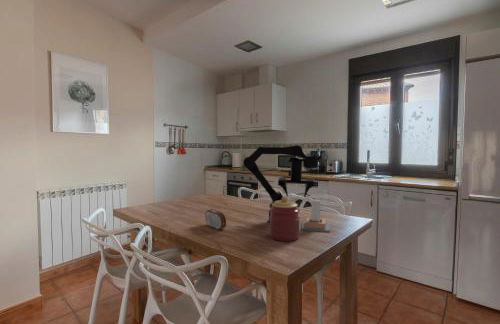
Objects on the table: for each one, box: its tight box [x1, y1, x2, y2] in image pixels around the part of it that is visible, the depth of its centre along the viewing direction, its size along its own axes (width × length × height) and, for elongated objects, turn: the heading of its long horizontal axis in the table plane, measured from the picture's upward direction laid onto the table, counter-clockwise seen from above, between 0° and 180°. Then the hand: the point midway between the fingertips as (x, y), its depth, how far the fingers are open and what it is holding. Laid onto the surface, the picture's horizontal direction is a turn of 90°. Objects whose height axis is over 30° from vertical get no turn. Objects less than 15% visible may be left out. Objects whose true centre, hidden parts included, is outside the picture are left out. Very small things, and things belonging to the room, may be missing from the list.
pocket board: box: [300, 217, 331, 233], centre depth 129 cm, size 13×13×3 cm
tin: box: [204, 208, 227, 231], centre depth 128 cm, size 15×3×8 cm, turn 41°
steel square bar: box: [310, 198, 321, 222], centre depth 128 cm, size 4×4×12 cm
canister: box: [269, 195, 301, 242], centre depth 114 cm, size 13×13×18 cm
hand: (295, 197), depth 142 cm, fingers open, 9 cm apart
